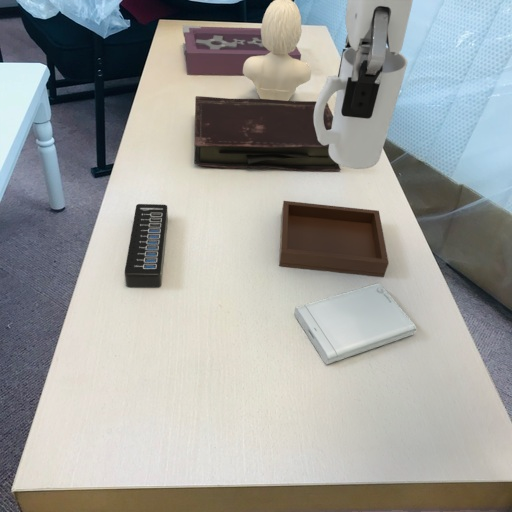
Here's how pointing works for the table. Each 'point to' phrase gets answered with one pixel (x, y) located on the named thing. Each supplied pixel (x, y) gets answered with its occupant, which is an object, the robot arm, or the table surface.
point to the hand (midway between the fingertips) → (353, 98)
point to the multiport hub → (147, 246)
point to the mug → (359, 129)
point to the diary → (260, 134)
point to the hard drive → (353, 322)
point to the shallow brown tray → (332, 239)
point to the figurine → (278, 54)
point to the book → (222, 49)
